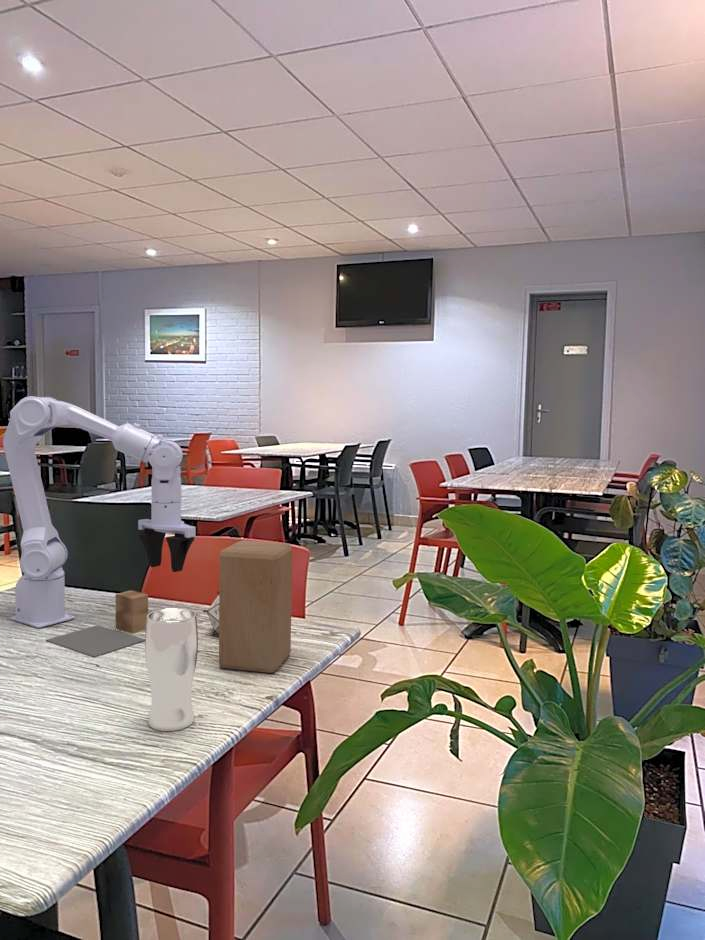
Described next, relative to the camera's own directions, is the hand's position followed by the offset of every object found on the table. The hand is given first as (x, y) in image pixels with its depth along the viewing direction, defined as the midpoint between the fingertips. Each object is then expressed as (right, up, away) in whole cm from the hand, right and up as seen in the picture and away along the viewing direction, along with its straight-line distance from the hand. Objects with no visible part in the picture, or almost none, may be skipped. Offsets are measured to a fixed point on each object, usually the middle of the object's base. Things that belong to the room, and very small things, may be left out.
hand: (166, 568), depth 140 cm
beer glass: (+13, -15, -45) cm, 49 cm away
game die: (+14, -12, -7) cm, 19 cm away
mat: (-9, -11, -13) cm, 20 cm away
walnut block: (-5, -11, -6) cm, 14 cm away
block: (+21, -13, -21) cm, 33 cm away
